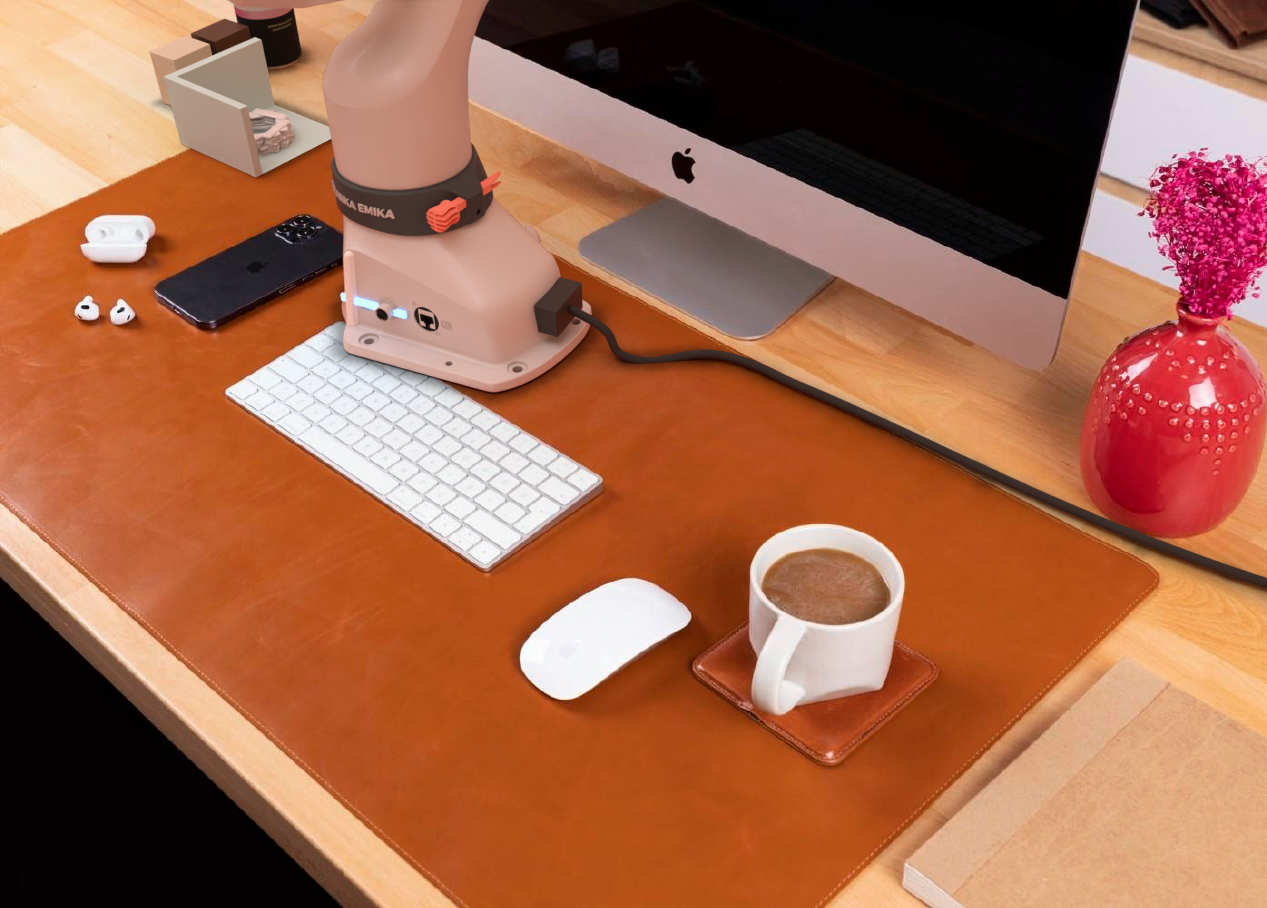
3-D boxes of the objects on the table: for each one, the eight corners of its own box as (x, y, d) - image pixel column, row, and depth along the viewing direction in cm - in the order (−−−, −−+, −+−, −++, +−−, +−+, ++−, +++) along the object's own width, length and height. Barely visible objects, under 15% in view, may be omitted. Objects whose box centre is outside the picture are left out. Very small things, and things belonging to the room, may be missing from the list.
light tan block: (221, 95, 143) (209, 43, 139) (187, 111, 140) (173, 60, 136) (197, 86, 145) (185, 35, 141) (162, 102, 142) (149, 51, 138)
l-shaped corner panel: (255, 177, 129) (240, 108, 124) (180, 143, 135) (163, 76, 130) (343, 132, 136) (331, 65, 131) (268, 102, 142) (254, 37, 137)
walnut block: (259, 76, 147) (248, 26, 143) (226, 92, 144) (214, 41, 140) (235, 68, 148) (224, 17, 144) (202, 83, 145) (190, 33, 141)
